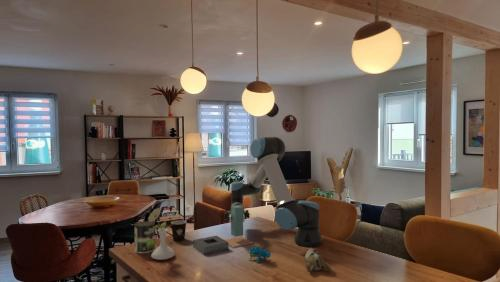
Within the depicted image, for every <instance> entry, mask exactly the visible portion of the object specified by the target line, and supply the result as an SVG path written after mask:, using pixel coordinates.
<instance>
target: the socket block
mask: <svg viewBox="0 0 500 282" xmlns="http://www.w3.org/2000/svg"><path fill="white" fill-rule="evenodd" d="M225 240H226V239H224V238H221V237H220V236H218V235H213V236H208V237H202V238H197V239H193V240H192V247H193V248H194V249H195V250H196V251H197V252H198V253H200V254H202V256H206V255H212V254H216V253H221V252H226V251H229V250H230V249H229V247H230V246H229V242H227V241H225Z"/></svg>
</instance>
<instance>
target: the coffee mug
mask: <svg viewBox="0 0 500 282" xmlns="http://www.w3.org/2000/svg"><path fill="white" fill-rule="evenodd" d="M167 227H169V228H170V229H171V233H170V232H169V231H167V232H166V234H168V235H170V236H172V241H174V242H183V241H185V239H186V238H185V237H186V228H187V221H186V220H179V219H178V220H173V221H170V225H166V226H165V227H164V228H165V229H167Z"/></svg>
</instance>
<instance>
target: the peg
mask: <svg viewBox="0 0 500 282" xmlns="http://www.w3.org/2000/svg"><path fill="white" fill-rule="evenodd" d="M230 210H231V222H230V235H232V236H233V237H234V238H236V237H241V236H242V237H243V236H244V222H243V210H244V206H243V207H242V206H239V205H237V206H231V205H230Z"/></svg>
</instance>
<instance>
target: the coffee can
mask: <svg viewBox="0 0 500 282" xmlns="http://www.w3.org/2000/svg"><path fill="white" fill-rule="evenodd" d="M155 225H156V223H155V221H153V222H151V221H150V222H149V221H148V220H147V221H144V220H143V221H138V222H135V223H134V224H133V226H134V253H136V254H148V253H149V254H150V253H152V252H153V251H154V250H155V249H156V248H155V247H156V245H155V239H156V238H155V230H156V229H152V228H153V227H154V226H155Z"/></svg>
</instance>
